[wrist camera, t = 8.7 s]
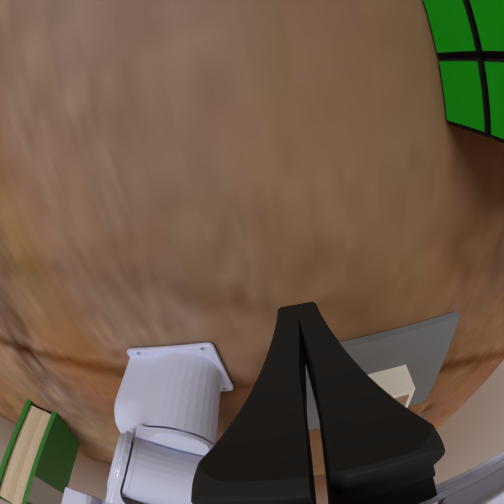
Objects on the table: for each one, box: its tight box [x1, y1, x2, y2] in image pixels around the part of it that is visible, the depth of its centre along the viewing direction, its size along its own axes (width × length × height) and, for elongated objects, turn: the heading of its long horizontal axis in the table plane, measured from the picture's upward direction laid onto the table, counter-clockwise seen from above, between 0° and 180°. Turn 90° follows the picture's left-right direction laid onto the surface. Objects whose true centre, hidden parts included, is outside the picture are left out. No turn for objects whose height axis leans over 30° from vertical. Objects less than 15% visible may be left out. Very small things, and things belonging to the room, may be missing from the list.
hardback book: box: [0, 400, 80, 504], centre depth 34 cm, size 18×7×24 cm, turn 168°
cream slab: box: [368, 364, 415, 408], centre depth 29 cm, size 8×4×8 cm
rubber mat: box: [306, 311, 460, 430], centre depth 30 cm, size 20×18×1 cm
